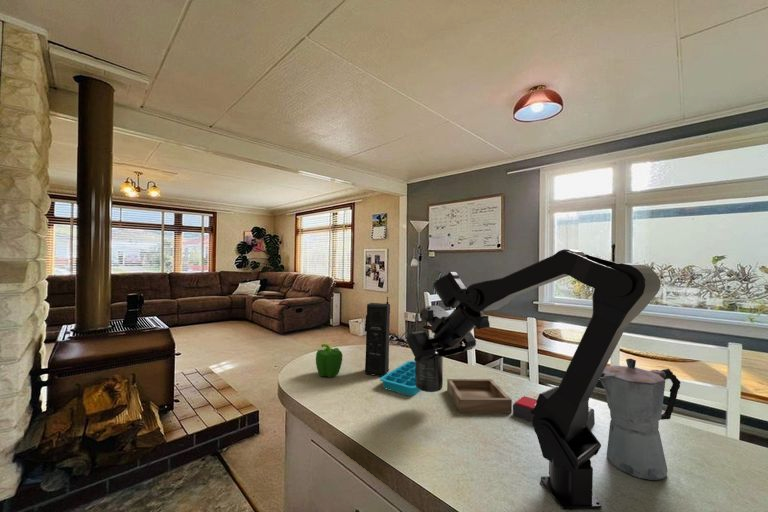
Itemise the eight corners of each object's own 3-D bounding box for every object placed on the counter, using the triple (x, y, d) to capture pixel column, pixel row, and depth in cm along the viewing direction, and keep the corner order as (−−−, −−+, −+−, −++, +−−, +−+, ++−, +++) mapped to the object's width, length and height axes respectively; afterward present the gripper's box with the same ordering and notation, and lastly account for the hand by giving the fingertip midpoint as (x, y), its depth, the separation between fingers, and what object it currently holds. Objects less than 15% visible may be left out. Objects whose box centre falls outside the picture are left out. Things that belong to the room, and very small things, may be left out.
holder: (511, 413, 78) (511, 399, 78) (460, 412, 77) (460, 399, 77) (491, 390, 91) (491, 379, 91) (447, 390, 90) (447, 378, 90)
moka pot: (580, 449, 63) (582, 351, 63) (651, 448, 64) (653, 351, 64) (618, 484, 54) (621, 368, 54) (701, 481, 55) (703, 367, 55)
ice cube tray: (441, 376, 102) (441, 367, 102) (413, 399, 85) (414, 388, 85) (409, 368, 108) (409, 360, 108) (377, 389, 91) (378, 379, 91)
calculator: (529, 388, 85) (594, 405, 74) (529, 405, 84) (595, 424, 74) (512, 401, 77) (582, 422, 66) (512, 419, 77) (582, 443, 66)
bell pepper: (345, 371, 104) (345, 340, 104) (337, 380, 96) (338, 348, 96) (320, 369, 105) (321, 339, 105) (311, 378, 97) (312, 346, 97)
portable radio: (361, 374, 101) (362, 297, 101) (367, 368, 107) (369, 295, 107) (384, 377, 99) (386, 298, 99) (389, 370, 105) (391, 296, 105)
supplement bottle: (421, 379, 83) (422, 334, 83) (446, 385, 80) (446, 338, 80) (410, 388, 77) (411, 340, 78) (436, 395, 74) (437, 344, 74)
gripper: (467, 294, 81) (436, 328, 90) (412, 298, 71) (383, 336, 79) (492, 330, 75) (457, 363, 84) (436, 340, 64) (402, 377, 73)
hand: (425, 359), depth 80 cm, fingers closed on supplement bottle, 6 cm apart
